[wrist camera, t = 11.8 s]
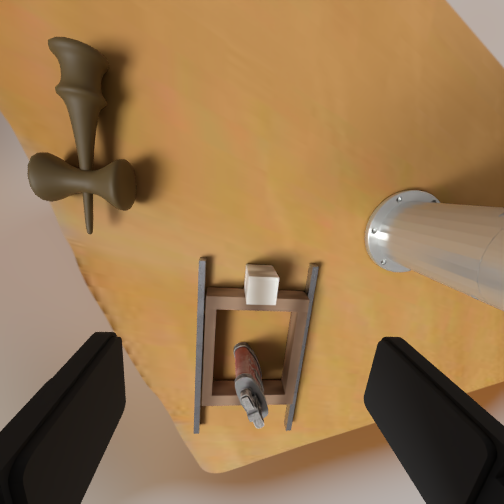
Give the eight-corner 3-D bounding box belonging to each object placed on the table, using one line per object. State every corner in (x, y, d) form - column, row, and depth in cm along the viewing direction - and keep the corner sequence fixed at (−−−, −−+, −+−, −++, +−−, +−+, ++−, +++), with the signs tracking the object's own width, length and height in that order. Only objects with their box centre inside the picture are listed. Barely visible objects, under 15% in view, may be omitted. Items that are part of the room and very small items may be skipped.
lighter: (265, 374, 41) (276, 431, 31) (247, 381, 41) (253, 441, 31) (247, 339, 39) (254, 389, 29) (229, 346, 39) (229, 399, 29)
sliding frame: (307, 267, 36) (319, 279, 31) (287, 389, 42) (295, 415, 37) (208, 262, 34) (205, 274, 29) (203, 390, 40) (200, 417, 35)
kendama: (138, 69, 28) (139, 234, 32) (52, 56, 27) (65, 227, 31) (113, 36, 22) (118, 242, 27) (2, 18, 21) (27, 234, 26)
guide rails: (315, 263, 36) (318, 267, 35) (288, 422, 44) (290, 430, 43) (200, 257, 34) (199, 260, 33) (194, 425, 42) (193, 433, 41)
